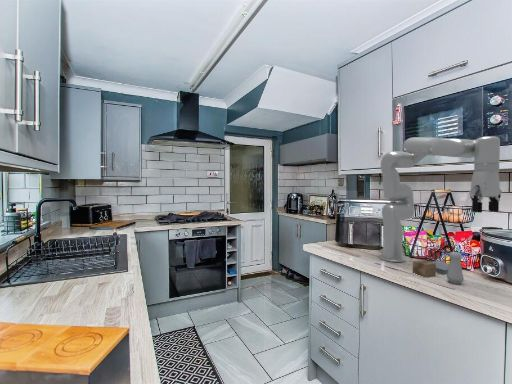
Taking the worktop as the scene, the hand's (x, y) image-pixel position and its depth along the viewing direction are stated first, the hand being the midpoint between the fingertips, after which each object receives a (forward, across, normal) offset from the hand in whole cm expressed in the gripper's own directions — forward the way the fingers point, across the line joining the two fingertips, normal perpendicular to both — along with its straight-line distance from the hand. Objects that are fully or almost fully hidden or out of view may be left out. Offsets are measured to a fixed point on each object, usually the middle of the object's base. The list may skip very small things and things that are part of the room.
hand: (485, 211), depth 106 cm
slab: (+31, -9, -24) cm, 40 cm away
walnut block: (+31, +6, -21) cm, 38 cm away
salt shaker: (+31, +3, -9) cm, 33 cm away
